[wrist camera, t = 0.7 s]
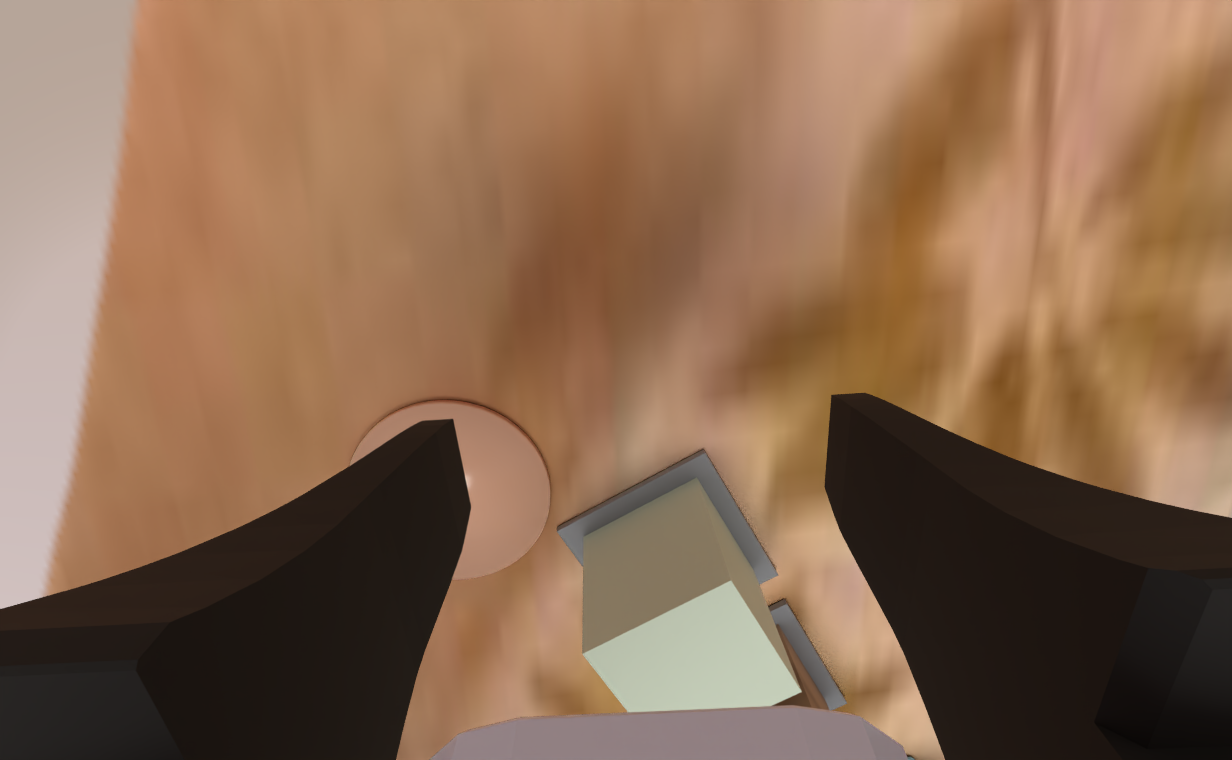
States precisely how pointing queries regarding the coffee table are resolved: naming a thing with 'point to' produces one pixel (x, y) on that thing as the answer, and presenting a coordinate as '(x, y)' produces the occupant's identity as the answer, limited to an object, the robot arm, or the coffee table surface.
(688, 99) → the coffee table surface
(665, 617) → the sage block
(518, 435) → the tan round disc
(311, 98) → the coffee table surface
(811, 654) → the code card
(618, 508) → the code card
